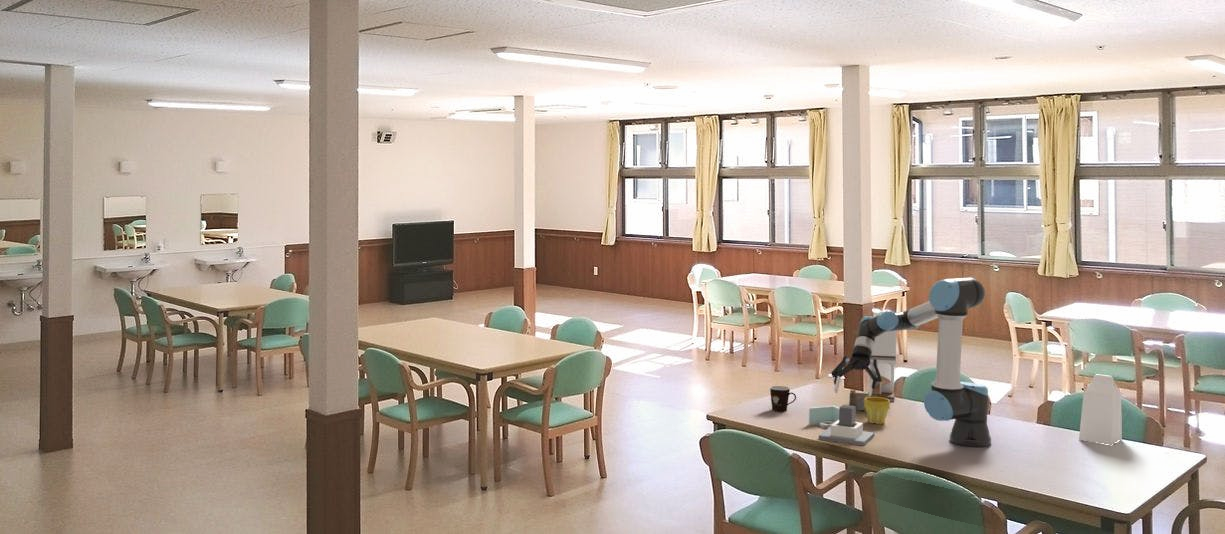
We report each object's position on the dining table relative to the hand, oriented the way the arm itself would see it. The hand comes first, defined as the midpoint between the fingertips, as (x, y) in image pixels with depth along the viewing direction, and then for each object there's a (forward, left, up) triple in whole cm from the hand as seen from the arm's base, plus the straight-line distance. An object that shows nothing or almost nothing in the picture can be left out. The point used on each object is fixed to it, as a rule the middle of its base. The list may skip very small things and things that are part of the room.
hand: (852, 392), depth 382 cm
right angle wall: (+11, +2, -17) cm, 21 cm away
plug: (-5, +6, -15) cm, 17 cm away
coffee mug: (+42, +5, -17) cm, 45 cm away
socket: (-5, +7, -16) cm, 18 cm away
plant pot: (+9, -20, -17) cm, 28 cm away
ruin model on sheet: (+28, -29, -17) cm, 44 cm away
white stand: (+42, -51, -17) cm, 69 cm away
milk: (-50, -81, -17) cm, 97 cm away
